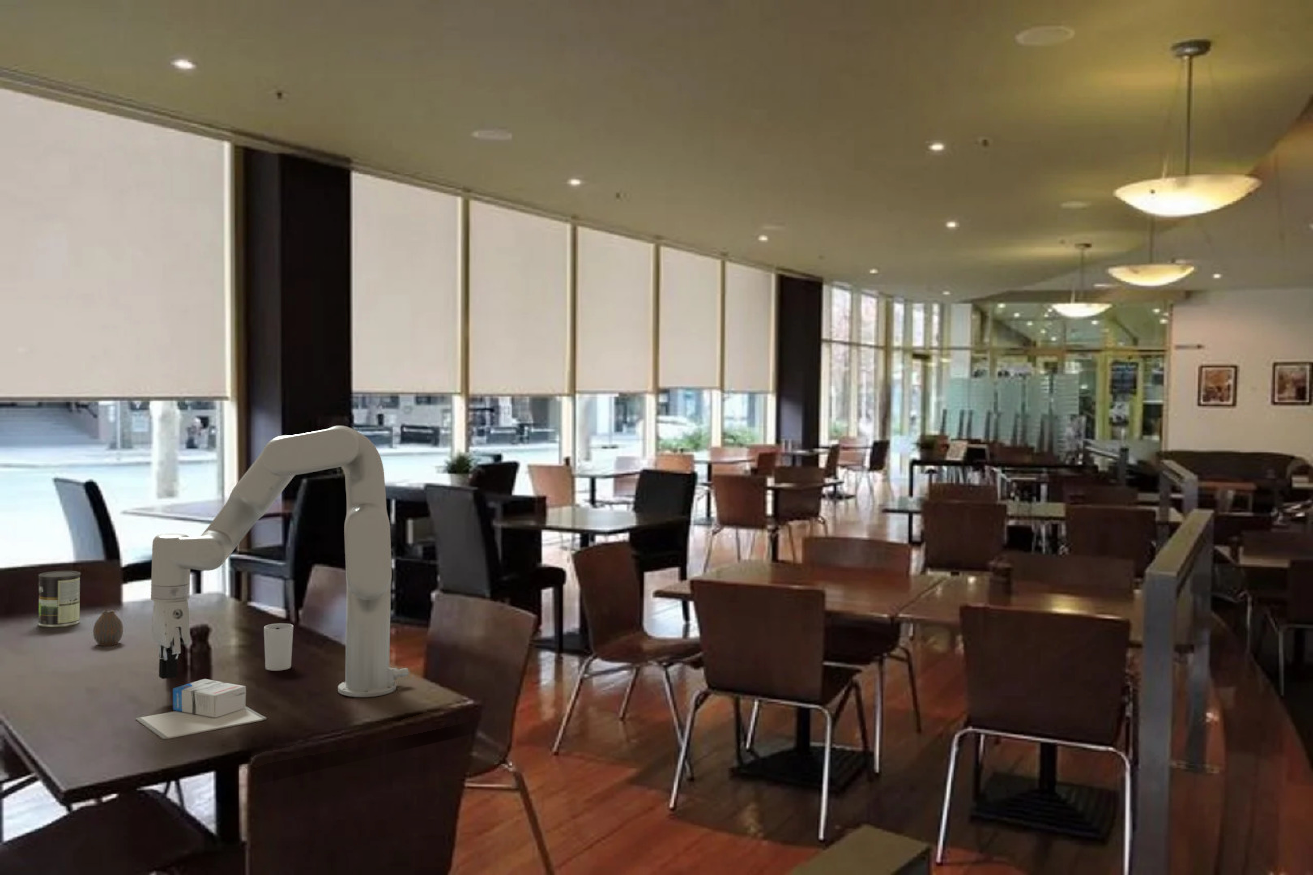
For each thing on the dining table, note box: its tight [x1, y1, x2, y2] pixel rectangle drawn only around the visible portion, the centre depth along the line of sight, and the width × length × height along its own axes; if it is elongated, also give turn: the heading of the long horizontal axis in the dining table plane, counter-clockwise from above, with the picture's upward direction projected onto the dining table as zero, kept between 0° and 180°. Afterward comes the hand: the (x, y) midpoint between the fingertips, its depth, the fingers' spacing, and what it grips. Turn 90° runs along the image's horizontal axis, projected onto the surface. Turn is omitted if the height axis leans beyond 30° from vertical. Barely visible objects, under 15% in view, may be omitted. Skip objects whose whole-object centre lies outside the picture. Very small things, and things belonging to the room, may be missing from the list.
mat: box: [135, 705, 267, 740], centre depth 213 cm, size 20×16×1 cm
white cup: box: [263, 623, 294, 672], centre depth 255 cm, size 7×7×10 cm
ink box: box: [172, 678, 247, 718], centre depth 219 cm, size 9×5×12 cm
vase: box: [92, 609, 124, 647], centre depth 274 cm, size 7×7×9 cm
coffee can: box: [38, 570, 81, 628], centre depth 297 cm, size 10×10×14 cm
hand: (167, 677), depth 226 cm, fingers closed
